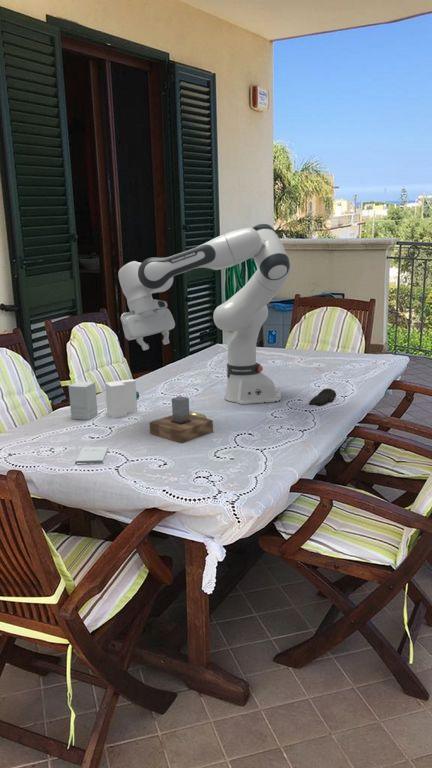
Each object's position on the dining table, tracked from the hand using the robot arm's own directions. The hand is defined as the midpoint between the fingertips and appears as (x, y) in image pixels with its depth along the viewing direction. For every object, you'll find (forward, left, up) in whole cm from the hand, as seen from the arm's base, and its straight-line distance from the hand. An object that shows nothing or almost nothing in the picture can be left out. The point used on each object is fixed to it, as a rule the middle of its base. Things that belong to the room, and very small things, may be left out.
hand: (156, 346), depth 225 cm
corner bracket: (+16, -16, -28) cm, 36 cm away
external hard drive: (+18, +32, -28) cm, 46 cm away
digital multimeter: (+16, -31, -28) cm, 45 cm away
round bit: (-12, -2, -28) cm, 30 cm away
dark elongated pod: (-62, -28, -28) cm, 74 cm away
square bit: (-8, +10, -28) cm, 31 cm away
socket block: (-8, +10, -28) cm, 31 cm away
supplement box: (+29, -11, -28) cm, 42 cm away
